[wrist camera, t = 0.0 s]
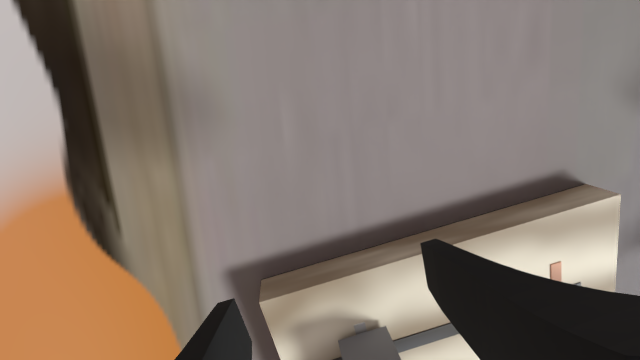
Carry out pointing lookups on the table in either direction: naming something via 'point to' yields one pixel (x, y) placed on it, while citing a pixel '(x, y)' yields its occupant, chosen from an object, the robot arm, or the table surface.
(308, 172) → the table surface
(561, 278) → the console board
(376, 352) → the fader
